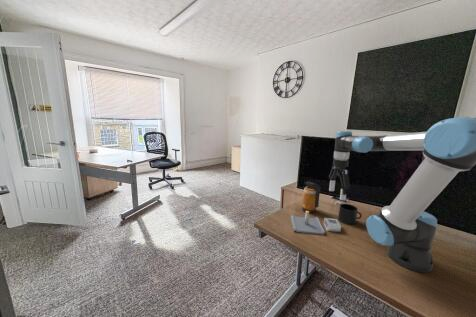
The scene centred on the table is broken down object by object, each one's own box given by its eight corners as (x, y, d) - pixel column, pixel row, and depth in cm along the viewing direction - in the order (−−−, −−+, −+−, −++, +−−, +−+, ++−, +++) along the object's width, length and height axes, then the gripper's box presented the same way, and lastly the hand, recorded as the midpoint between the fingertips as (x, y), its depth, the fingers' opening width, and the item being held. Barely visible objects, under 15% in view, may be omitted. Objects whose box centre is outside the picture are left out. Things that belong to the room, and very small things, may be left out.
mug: (361, 227, 111) (364, 212, 109) (338, 222, 115) (340, 208, 114) (359, 219, 119) (361, 206, 117) (337, 215, 124) (339, 202, 122)
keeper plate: (324, 234, 103) (326, 220, 101) (293, 231, 105) (294, 217, 103) (317, 219, 118) (318, 206, 116) (290, 217, 121) (291, 204, 119)
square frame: (340, 232, 106) (341, 225, 105) (327, 230, 107) (327, 224, 106) (336, 225, 112) (336, 219, 112) (323, 224, 113) (324, 217, 113)
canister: (305, 206, 137) (308, 179, 133) (321, 211, 129) (323, 183, 125) (299, 209, 131) (301, 182, 127) (314, 215, 123) (317, 186, 119)
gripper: (361, 164, 94) (355, 204, 98) (337, 155, 118) (333, 187, 122) (345, 163, 94) (340, 204, 98) (325, 154, 118) (321, 187, 123)
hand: (336, 195), depth 110 cm, fingers open, 13 cm apart
